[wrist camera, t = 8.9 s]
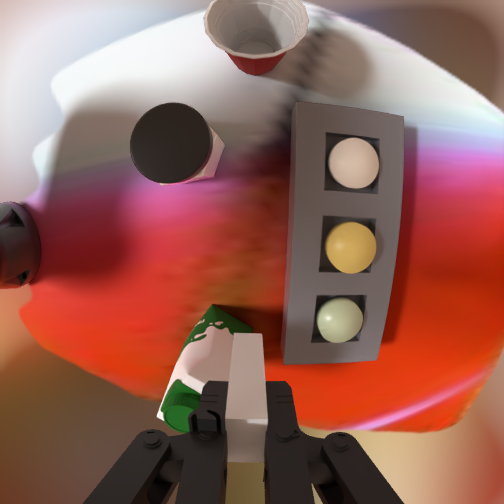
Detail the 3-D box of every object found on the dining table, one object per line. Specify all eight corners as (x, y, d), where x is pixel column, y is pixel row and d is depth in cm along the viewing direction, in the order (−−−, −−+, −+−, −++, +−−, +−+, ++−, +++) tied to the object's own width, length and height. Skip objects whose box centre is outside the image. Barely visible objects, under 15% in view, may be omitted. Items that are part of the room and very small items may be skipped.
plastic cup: (277, 17, 34) (285, -28, 22) (306, 78, 36) (326, 44, 25) (205, 38, 35) (190, -4, 23) (230, 101, 37) (221, 72, 25)
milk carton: (210, 295, 43) (181, 380, 24) (262, 327, 44) (269, 423, 25) (181, 338, 45) (144, 430, 26) (231, 367, 46) (221, 465, 27)
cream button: (326, 186, 36) (330, 186, 34) (327, 137, 34) (331, 135, 32) (371, 189, 36) (377, 190, 34) (373, 142, 34) (379, 141, 32)
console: (280, 346, 45) (283, 364, 40) (291, 110, 37) (296, 101, 32) (366, 343, 45) (376, 360, 40) (388, 122, 37) (403, 116, 33)
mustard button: (322, 268, 37) (326, 273, 35) (326, 219, 36) (330, 222, 34) (367, 269, 37) (373, 273, 35) (372, 222, 36) (378, 224, 34)
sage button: (313, 336, 40) (316, 343, 38) (318, 295, 39) (321, 301, 37) (354, 334, 40) (358, 341, 38) (361, 295, 39) (366, 301, 37)
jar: (175, 113, 37) (146, 90, 26) (231, 129, 38) (223, 110, 26) (153, 175, 39) (117, 175, 28) (209, 193, 40) (192, 198, 28)
